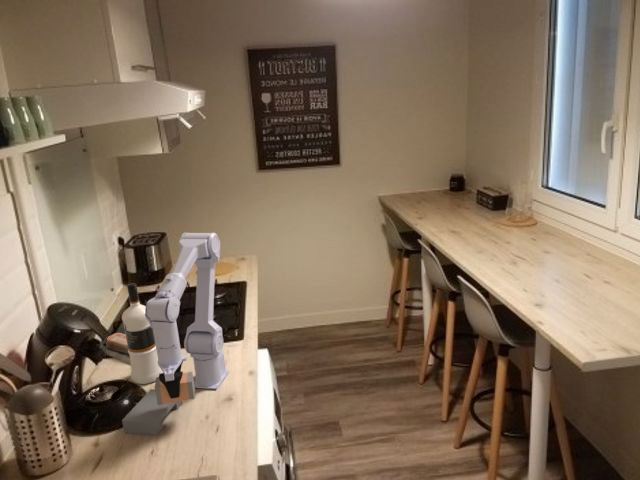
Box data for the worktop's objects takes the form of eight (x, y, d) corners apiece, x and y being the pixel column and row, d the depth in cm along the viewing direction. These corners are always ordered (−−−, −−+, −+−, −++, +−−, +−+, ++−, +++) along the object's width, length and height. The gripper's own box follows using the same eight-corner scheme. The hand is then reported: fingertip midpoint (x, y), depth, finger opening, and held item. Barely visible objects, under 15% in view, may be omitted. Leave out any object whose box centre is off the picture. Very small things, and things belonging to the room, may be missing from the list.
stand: (153, 400, 145) (151, 389, 144) (182, 402, 143) (180, 391, 142) (124, 432, 132) (121, 420, 131) (156, 435, 130) (154, 423, 129)
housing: (157, 405, 131) (154, 387, 130) (159, 394, 136) (156, 377, 134) (194, 398, 133) (191, 381, 131) (194, 388, 137) (192, 371, 136)
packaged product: (96, 340, 173) (121, 328, 181) (98, 353, 175) (123, 340, 183) (131, 352, 164) (156, 338, 172) (133, 366, 165) (158, 352, 173)
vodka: (165, 380, 155) (149, 286, 146) (132, 388, 152) (114, 292, 143) (162, 366, 163) (147, 276, 154) (131, 373, 160) (114, 282, 151)
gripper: (183, 354, 124) (191, 404, 128) (184, 328, 137) (191, 373, 141) (152, 359, 122) (161, 409, 126) (157, 332, 136) (164, 378, 140)
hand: (175, 391), depth 134 cm, fingers closed on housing, 5 cm apart
